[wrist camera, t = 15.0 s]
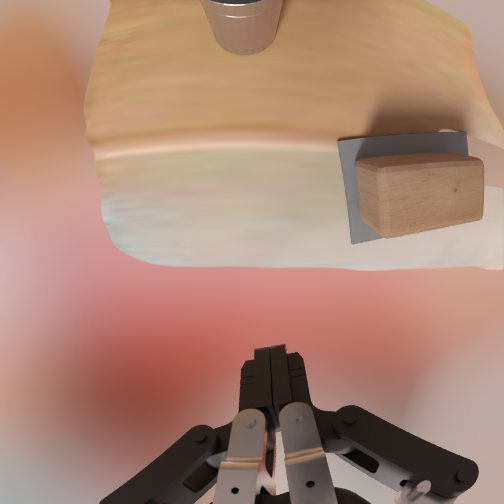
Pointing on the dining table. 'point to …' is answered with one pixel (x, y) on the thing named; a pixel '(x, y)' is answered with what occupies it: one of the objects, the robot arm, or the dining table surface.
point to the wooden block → (419, 192)
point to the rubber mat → (387, 147)
